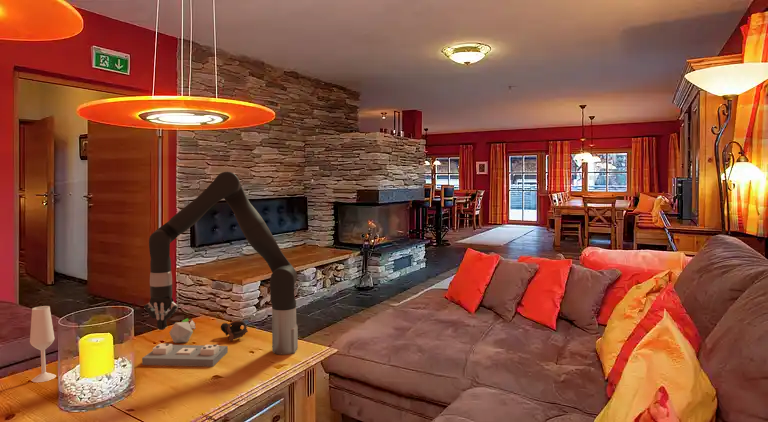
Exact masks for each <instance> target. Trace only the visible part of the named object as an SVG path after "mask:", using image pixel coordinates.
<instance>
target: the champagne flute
mask: <svg viewBox="0 0 768 422" xmlns="http://www.w3.org/2000/svg"><path fill="white" fill-rule="evenodd" d="M30 319H31V320H30V335H29V344H30V345H31V346H32V347H33V348H34V349H36V350H39V351H40V365H41V366H40V367H41V373H38V375H36V376H35V377H33V378H32V379H31V382H33V383H43V382H48V381H50V380H53V379H55V378H56V377H57V375H56V374H54V373H50V372H47V368H46V367H47V366H46V350H47V349H48V348H49V347H50V346H51V345H52V344H53V343H54V341H55V331H54V325H53V319H52V313H51V306H50V305H43V306H42V305H40V306H35V307H32V308H31V318H30Z"/></svg>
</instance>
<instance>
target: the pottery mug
mask: <svg viewBox="0 0 768 422" xmlns="http://www.w3.org/2000/svg"><path fill="white" fill-rule="evenodd" d="M242 326H243V328H241V327H242ZM247 327H248V326H247V325H246V323H245V321H243V320H233V321H231V322H229V323H227V322H223V323H222V324H221V326H220V331H222V332H223V333H224V334H225V336H227V337H228V336H229V337H228V340H229V341H230V342H233V340H236V339H240V338H242V337H243V336H245V335H246V334H247V333H249V331H248V329H247Z"/></svg>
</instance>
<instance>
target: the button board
mask: <svg viewBox="0 0 768 422" xmlns="http://www.w3.org/2000/svg"><path fill="white" fill-rule="evenodd" d="M172 345H173V350H172V351H171V352H169V353H168V354H153V350H152V351H150V352H149V353H147V354H145V355H144V356H143V357H141V366H142V365H143V366H173V367H174V366H176V367H179V366H181V367H214V366H215V365H216V364H217V363H218V362H220V360H221V359H223V357H225V356H226V355H227V354H228V346H229V345H219V352H218V353H217V354H216V355H201V350H200V349H201V348H203V347H204V346H205V345H206V344H205V345H203V344H202V345H199V344H198V345H197V344H196V345H195V344H187V345H186V344H172ZM182 348H196V351H195V352H194V353H192V354H191V355H177V352H178V351H179V350H181V349H182Z"/></svg>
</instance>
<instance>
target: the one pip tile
mask: <svg viewBox="0 0 768 422" xmlns="http://www.w3.org/2000/svg"><path fill="white" fill-rule="evenodd" d="M195 351H196V348H182V349H181V350H179V351H178V352H177V355H191V354H192V353H194V352H195Z"/></svg>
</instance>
